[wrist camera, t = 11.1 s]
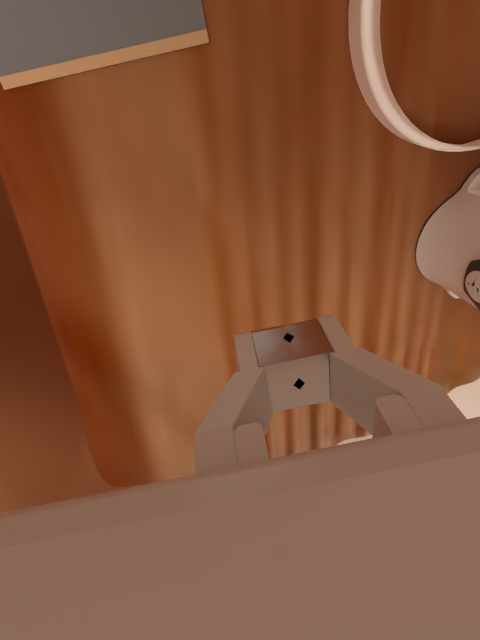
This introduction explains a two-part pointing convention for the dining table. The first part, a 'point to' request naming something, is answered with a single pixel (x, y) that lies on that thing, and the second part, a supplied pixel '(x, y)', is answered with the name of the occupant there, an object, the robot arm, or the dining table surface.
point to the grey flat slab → (90, 35)
